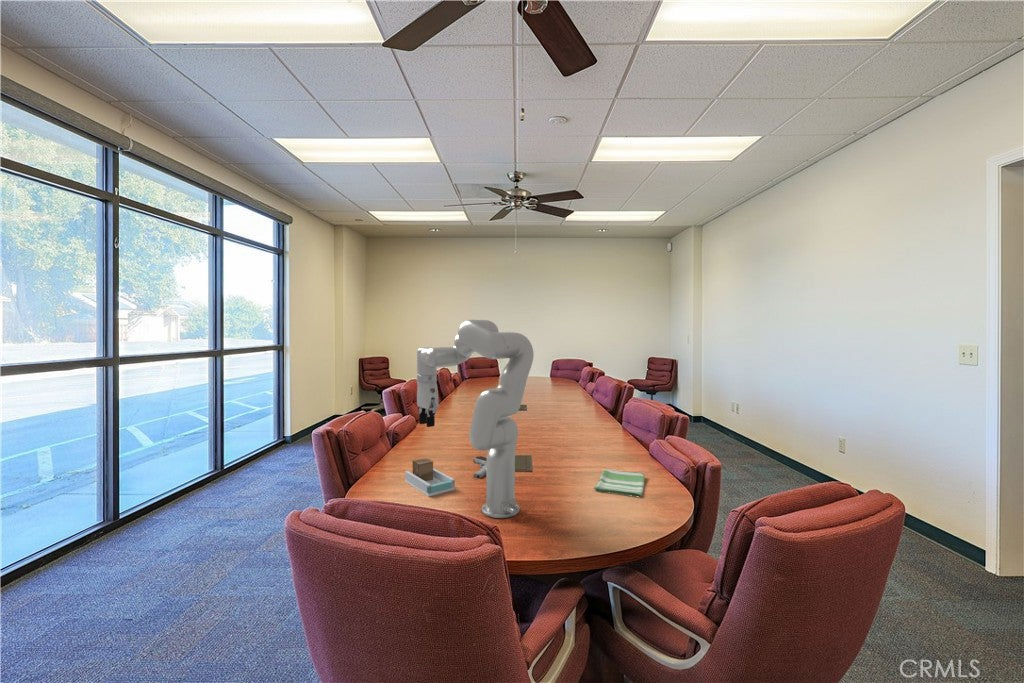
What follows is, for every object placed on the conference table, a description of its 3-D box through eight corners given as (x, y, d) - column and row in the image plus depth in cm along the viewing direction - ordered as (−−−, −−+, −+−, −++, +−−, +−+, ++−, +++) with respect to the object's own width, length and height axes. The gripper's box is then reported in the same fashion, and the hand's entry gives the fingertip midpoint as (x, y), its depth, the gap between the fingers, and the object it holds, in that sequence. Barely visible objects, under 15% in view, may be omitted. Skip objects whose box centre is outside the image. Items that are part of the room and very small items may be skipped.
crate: (433, 479, 174) (433, 461, 174) (419, 482, 170) (419, 464, 170) (426, 475, 179) (426, 457, 179) (412, 478, 175) (412, 460, 175)
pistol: (478, 454, 206) (505, 457, 200) (478, 460, 206) (505, 463, 200) (452, 469, 184) (481, 473, 179) (452, 476, 184) (481, 480, 179)
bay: (454, 489, 166) (454, 479, 166) (428, 496, 159) (428, 485, 159) (430, 475, 182) (430, 466, 182) (405, 481, 175) (405, 471, 175)
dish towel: (592, 492, 165) (592, 485, 165) (602, 473, 187) (602, 467, 187) (641, 499, 159) (641, 491, 159) (646, 479, 181) (646, 472, 181)
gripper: (446, 380, 167) (446, 427, 167) (425, 376, 180) (425, 420, 181) (428, 381, 162) (428, 430, 162) (408, 377, 176) (408, 422, 176)
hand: (426, 424), depth 172 cm, fingers open, 5 cm apart
